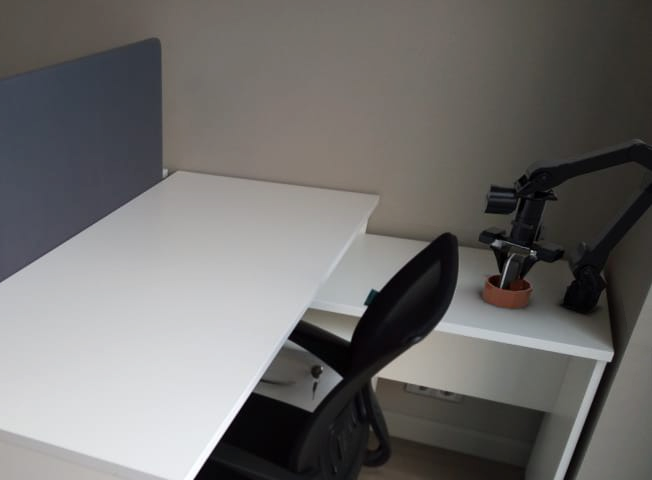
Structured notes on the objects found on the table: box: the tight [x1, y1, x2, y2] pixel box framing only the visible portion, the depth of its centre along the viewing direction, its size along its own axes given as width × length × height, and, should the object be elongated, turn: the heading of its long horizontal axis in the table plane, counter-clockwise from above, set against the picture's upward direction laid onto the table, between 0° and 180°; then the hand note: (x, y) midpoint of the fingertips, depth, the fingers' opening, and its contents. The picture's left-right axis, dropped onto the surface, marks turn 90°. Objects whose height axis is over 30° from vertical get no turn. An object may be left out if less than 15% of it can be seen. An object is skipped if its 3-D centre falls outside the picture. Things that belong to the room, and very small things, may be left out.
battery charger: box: [498, 253, 525, 291], centre depth 182 cm, size 7×4×11 cm, turn 143°
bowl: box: [481, 273, 533, 309], centre depth 184 cm, size 11×11×4 cm
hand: (511, 276), depth 182 cm, fingers open, 5 cm apart
